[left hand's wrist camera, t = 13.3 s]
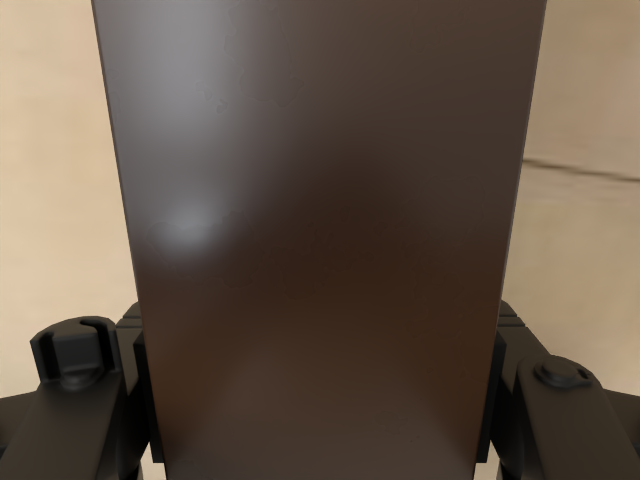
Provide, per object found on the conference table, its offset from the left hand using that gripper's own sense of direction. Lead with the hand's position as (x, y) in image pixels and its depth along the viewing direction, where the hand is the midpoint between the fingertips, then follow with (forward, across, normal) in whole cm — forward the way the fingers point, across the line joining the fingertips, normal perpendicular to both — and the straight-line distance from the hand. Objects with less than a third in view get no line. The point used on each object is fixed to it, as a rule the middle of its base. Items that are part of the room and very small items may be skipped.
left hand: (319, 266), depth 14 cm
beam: (0, 0, -11) cm, 11 cm away
